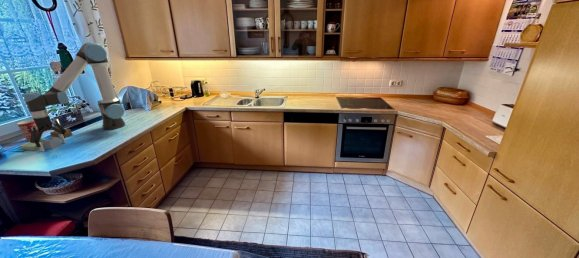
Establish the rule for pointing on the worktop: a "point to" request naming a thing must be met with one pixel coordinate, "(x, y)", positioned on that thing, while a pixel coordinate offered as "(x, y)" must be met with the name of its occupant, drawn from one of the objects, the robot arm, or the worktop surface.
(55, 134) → the bored block
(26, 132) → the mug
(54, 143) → the block
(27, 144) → the tray
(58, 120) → the pin gauge
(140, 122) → the worktop surface
